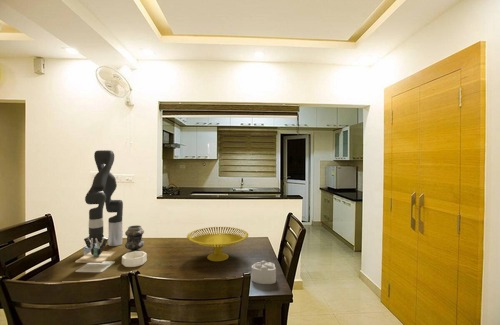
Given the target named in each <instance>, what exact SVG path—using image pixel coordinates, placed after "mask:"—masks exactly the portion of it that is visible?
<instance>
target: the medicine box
mask: <svg viewBox="0 0 500 325" xmlns="http://www.w3.org/2000/svg"><path fill="white" fill-rule="evenodd" d="M95 247H98V246H97V244H95ZM95 247H94V248H95ZM90 252H91V248H88V247H87V245H86V246H83V256H85V255H86V254H88V253H90Z"/></svg>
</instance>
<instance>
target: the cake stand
mask: <svg viewBox="0 0 500 325" xmlns="http://www.w3.org/2000/svg"><path fill="white" fill-rule="evenodd" d="M186 238H187V240H188V241H190V242H191V243H195V244H196V245H200V246H203V247H208V248H213V252H212V253H210V254H208V256H207V260H209V261H212V262H223V261H225V260H228V259H229V255H228V254H227V253H224V252H223V248H224V247H229V246H233V245H236V244H238V243H240V242H243V241H244V240H247V238H249V233H248V232H247V231H245V230H244V229H241V228H238V227H231V226H210V227H209V226H208V227H204V228H203V227H202V228H199V229H195V230H193V231H191V232H189V233H188V234H187V235H186Z"/></svg>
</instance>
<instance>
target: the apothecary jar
mask: <svg viewBox="0 0 500 325" xmlns="http://www.w3.org/2000/svg"><path fill="white" fill-rule="evenodd" d="M144 234H145V230H144V229H143V228H142V225H139V224H135V225H129V226H128V227H127V230H126V231H125V236H126V242H125V244H124V248H125V249H126V250H129V251H126V253H130V252H134V251H143V250H142V248H143V247H144V245H145V242H144V240H143V235H144Z"/></svg>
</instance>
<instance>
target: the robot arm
mask: <svg viewBox="0 0 500 325" xmlns="http://www.w3.org/2000/svg"><path fill="white" fill-rule="evenodd" d="M93 155H94V156H93V157H94V162H95V165H96V168H97V170H98V172H97V173H96V174H95V176H94V178H93V180H92V184H91V187H90V188H89V190H88V191H87V193H86V194H85V197H84V202H85V203H86V205H97V207H93V208H90V209H89V210H88V236H87V237H85V238H84V239H83V240H84V242H85V245H86V246H87V247H88V248H91V254H92V255H94V253H93V248H94V247H95V244H97V246H98V255H100V254H101V253H102V251H103V248H104V247H106V245H107V243H108V246H109V247H118V246H121V245H122V244H123V240H124V239H123V235H124V234H123V216H124V215H123V211H124V209H123V208H124V202H123V200H121V199H112V195H113V194H114V193H115V191H116V189H117V180H116V177H115V176H114V175H113V173H111V170H112V167H113V165H114V162H115V153H114V150H113V151H112V150H109V149H107V150H103V149H101V150H99V149H98V150H96V151H94V154H93ZM104 206H105V210H106V212H107V213H109V214H112V213H116V214H115V215H113V216H111V217H109V218H108V220H107V222H108V223H107V224H108V226H107V227H108V230H107V231H108V232H107V233H108V237H106V236H104Z"/></svg>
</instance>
